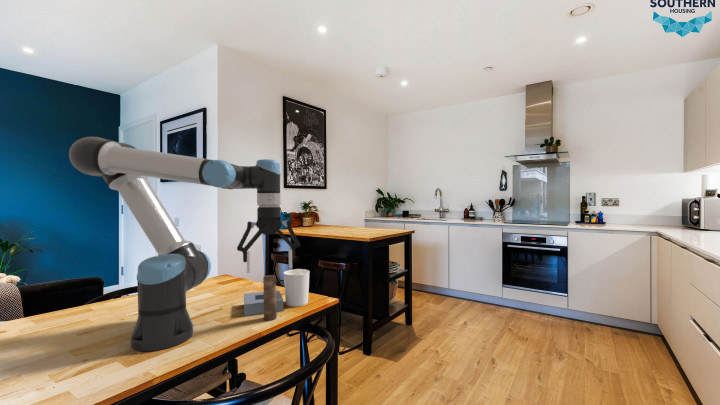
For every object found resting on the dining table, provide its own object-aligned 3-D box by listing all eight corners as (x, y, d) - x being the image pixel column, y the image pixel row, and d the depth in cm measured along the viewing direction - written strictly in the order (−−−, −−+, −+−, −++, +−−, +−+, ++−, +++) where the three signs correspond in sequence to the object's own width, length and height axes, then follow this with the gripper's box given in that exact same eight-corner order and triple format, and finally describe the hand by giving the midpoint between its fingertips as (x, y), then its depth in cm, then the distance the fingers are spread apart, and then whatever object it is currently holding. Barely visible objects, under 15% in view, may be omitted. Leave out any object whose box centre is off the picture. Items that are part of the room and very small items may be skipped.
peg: (264, 321, 101) (263, 278, 101) (263, 317, 105) (262, 276, 105) (277, 319, 103) (276, 277, 103) (275, 315, 107) (275, 274, 106)
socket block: (244, 316, 106) (244, 304, 106) (243, 304, 118) (243, 293, 118) (283, 310, 111) (283, 299, 111) (278, 299, 123) (278, 289, 123)
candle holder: (307, 307, 114) (307, 275, 114) (280, 307, 114) (280, 275, 114) (312, 298, 124) (311, 268, 124) (287, 299, 124) (287, 269, 124)
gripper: (228, 207, 96) (229, 276, 96) (308, 205, 105) (309, 268, 105) (228, 206, 103) (229, 271, 103) (304, 205, 112) (304, 264, 112)
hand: (269, 270), depth 104 cm, fingers open, 13 cm apart
